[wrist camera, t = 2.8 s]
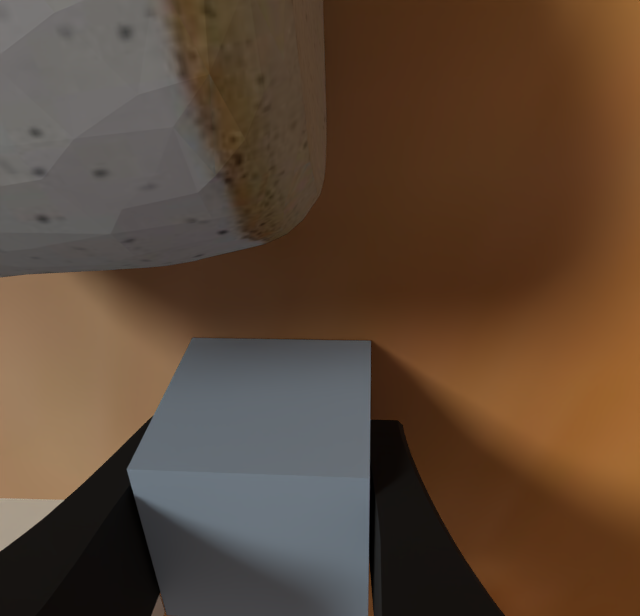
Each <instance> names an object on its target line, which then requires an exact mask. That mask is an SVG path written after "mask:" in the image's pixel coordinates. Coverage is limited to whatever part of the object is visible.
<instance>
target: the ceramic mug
mask: <svg viewBox="0 0 640 616" xmlns="http://www.w3.org/2000/svg"><path fill="white" fill-rule="evenodd" d="M325 167H326V81H325V47H324V14H323V0H0V277H7V276H16V275H25V274H42V273H61V272H81V271H101V270H116V269H132V268H148V267H159V266H169V265H174V264H180V263H186V262H191V261H196V260H199V259H204V258H208V257H212V256H216V255H221V254H225V253H229V252H233V251H238V250H242V249H246V248H251V247H255V246H259V245H263V244H266V243H268V242H270V241H272V240H275V239H277V238H279V237H281V236H284V235H286V234H287V233H288V232H290V231H291V230H292V229H293V228H294V227H295V226H297V225H298V224H299V223H300V222H301V221H302V220H303V219H304V218H305V216H306V215H307V213H308V212H309V210H310V209H311V207H312V206H313V205H314V203H315V202H316V200H317V199H318V197H319V195H320V194H321V190H322V186H323V181H324V175H325Z"/></svg>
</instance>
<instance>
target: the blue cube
mask: <svg viewBox="0 0 640 616" xmlns="http://www.w3.org/2000/svg"><path fill="white" fill-rule="evenodd" d="M370 399H371V341H359V340H296V339H234V338H192V340H191V342H190V344H189V346H188V348H187V350H186V352H185V354H184V356H183V358H182V360H181V362H180V364H179V366H178V368H177V370H176V372H175V374H174V376H173V378H172V380H171V382H170V384H169V386H168V388H167V390H166V392H165V394H164V396H163V398H162V400H161V402H160V404H159V406H158V408H157V410H156V412H155V414H154V416H153V418H152V420H151V422H150V424H149V426H148V428H147V430H146V432H145V434H144V436H143V438H142V440H141V442H140V444H139V446H138V448H137V450H136V452H135V454H134V456H133V458H132V460H131V462H130V464H129V466H128V468H127V472H128V476H129V479H130V483H131V487H132V490H133V494H134V498H135V501H136V505H137V508H138V512H139V516H140V519H141V523H142V527H143V530H144V534H145V538H146V541H147V545H148V548H149V552H150V556H151V559H152V563H153V567H154V570H155V574H156V578H157V581H158V585H159V588H160V592H161V596H162V599H163V603H164V607H165V610H166V614H167V615H172V616H368V581H369V500H370Z"/></svg>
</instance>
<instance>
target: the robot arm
mask: <svg viewBox="0 0 640 616" xmlns="http://www.w3.org/2000/svg"><path fill="white" fill-rule="evenodd" d="M153 416H154V415H153ZM153 416H152V417H151V418H150V419H149V420H148V421H147V422H146V423H145V424H144V425H143V426H142V427H141V428H140V429H139V430H138V431H137V432H136V433H135V434H134V435H133V436H132V437H131V438H130V439H129V440H128V441H127V442H126V443H125V444H124V445H123V446H122V447H121V448H120V449H119V450H118V451H117V452H116V453H114V454H113V455H112V456H111V457H110V458H109V459H108V460H107V461H106V462H105V463H104V464H103V465H102V466H101V467H100V468H99V469H98V470H97V471H96V472H95V473H94V474H93V475H92V476H91V477H89V478H88V479H87V480H86V481H85V482H84V483H83V484H82V485H81V486H80V487H79V488H78V489H77V490H75V491H74V492H73V493H72V494H71V495H70V496H69V497H67V498H66V499H65V500H64V501H63V502H62V503H61V504H59V505H58V506H57V507H56V508H55V509H54V510H52V511H51V512H50V513H49V514H48V515H47V516H46V517H44V518H43V519H42V520H41V521H39V522H38V523H37V524H36V525H34V526H33V527H32V528H31V529H29V530H28V531H27V532H26V533H24V534H23V535H22V536H20V537H19V538H18V539H16V540H15V541H14V542H12V543H11V544H9V545H8V546H7V547H5V548H4V549H3V550H1V551H0V616H151V615H152V612H153V610H154V607H155V605H156V602H157V599H158V597H159V594H160V588H159V585H158V581H157V578H156V574H155V570H154V567H153V563H152V559H151V556H150V552H149V548H148V545H147V541H146V538H145V534H144V530H143V527H142V523H141V519H140V516H139V512H138V508H137V505H136V501H135V498H134V494H133V490H132V487H131V483H130V479H129V476H128V472H127V468H128V466H129V464H130V462H131V460H132V458H133V456H134V454H135V452H136V450H137V448H138V446H139V444H140V442H141V440H142V438H143V436H144V434H145V432H146V430H147V428H148V426H149V424H150V422H151V420H152V418H153ZM369 561H370V574H371V586H372V598H373V610H374V616H505V615H504V614H503V612H502V611H501V610H500V609H499V607H498V606H497V605H496V603H495V602H494V601H493V599H492V598H491V596H490V595H489V594H488V592H487V591H486V589H485V588H484V587H483V585H482V584H481V582H480V581H479V580H478V578H477V577H476V575H475V574H474V572H473V571H472V569H471V568H470V566H469V565H468V563H467V562H466V560H465V558H464V557H463V555H462V554H461V552H460V550H459V549H458V547H457V546H456V544H455V542H454V541H453V539H452V537H451V535H450V534H449V532H448V530H447V528H446V527H445V525H444V523H443V521H442V519H441V518H440V516H439V514H438V512H437V510H436V508H435V506H434V504H433V502H432V500H431V498H430V496H429V494H428V492H427V490H426V488H425V486H424V484H423V482H422V479H421V477H420V475H419V473H418V470H417V468H416V465H415V463H414V460H413V458H412V455H411V453H410V450H409V447H408V444H407V441H406V437H405V434H404V430H403V425H402V424H401V423H400V422H399V421H397V420H370V500H369Z"/></svg>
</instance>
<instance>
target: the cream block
mask: <svg viewBox="0 0 640 616" xmlns="http://www.w3.org/2000/svg"><path fill="white" fill-rule="evenodd" d="M63 501H64V500H46V499H9V498H0V551H1V550H3V549H4V548H5V547H7V546H8V545H9V544H11V543H12V542H14V541H15V540H16V539H18V538H19V537H20V536H22V535H23V534H24V533H26V532H27V531H28V530H29V529H31V528H32V527H33V526H34V525H36V524H37V523H38V522H39V521H41V520H42V519H43V518H44V517H46V516H47V515H48V514H49V513H50V512H51V511H52V510H54V509H55V508H56V507H57V506H58V505H59V504H61V503H62V502H63ZM164 613H165V611H164V607H163V604H162V601H161V598H160V595H159V597H158V599H157V602H156V605H155V607H154V610H153V612H152V615H151V616H164Z"/></svg>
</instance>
